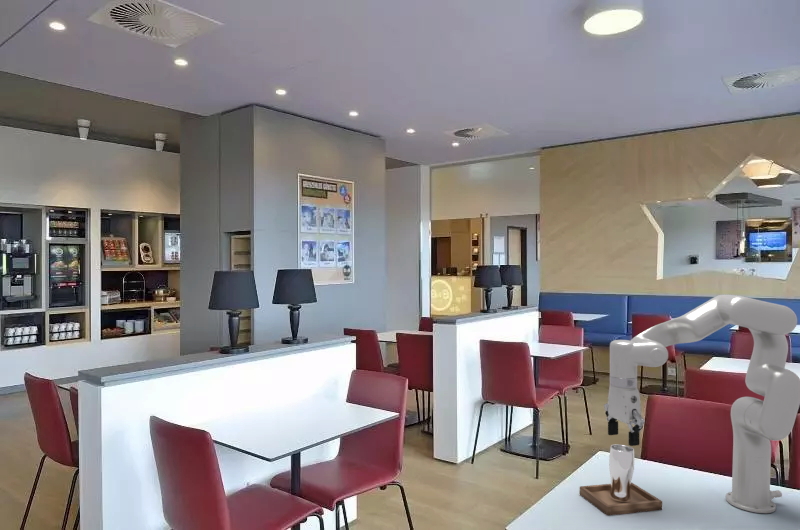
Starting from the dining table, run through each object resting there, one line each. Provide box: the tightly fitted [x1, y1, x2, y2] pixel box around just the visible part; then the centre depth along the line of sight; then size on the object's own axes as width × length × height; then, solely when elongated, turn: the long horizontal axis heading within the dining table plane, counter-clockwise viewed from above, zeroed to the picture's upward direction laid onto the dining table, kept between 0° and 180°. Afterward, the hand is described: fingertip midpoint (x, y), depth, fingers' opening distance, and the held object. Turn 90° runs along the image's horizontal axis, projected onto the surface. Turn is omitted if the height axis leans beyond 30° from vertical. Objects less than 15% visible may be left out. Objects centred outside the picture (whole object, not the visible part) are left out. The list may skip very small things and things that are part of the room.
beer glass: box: [608, 443, 635, 503], centre depth 164 cm, size 7×7×15 cm
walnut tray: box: [578, 481, 663, 517], centre depth 164 cm, size 18×14×2 cm
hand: (623, 439), depth 164 cm, fingers open, 9 cm apart
